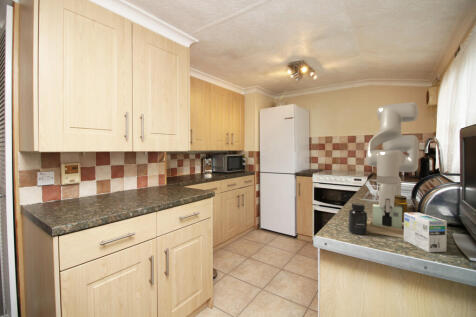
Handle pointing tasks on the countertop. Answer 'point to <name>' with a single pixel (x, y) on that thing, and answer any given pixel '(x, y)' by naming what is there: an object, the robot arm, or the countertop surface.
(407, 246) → the countertop surface
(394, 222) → the door panel
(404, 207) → the condiment
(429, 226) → the light bulb box
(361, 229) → the supplement bottle
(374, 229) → the bottom track
